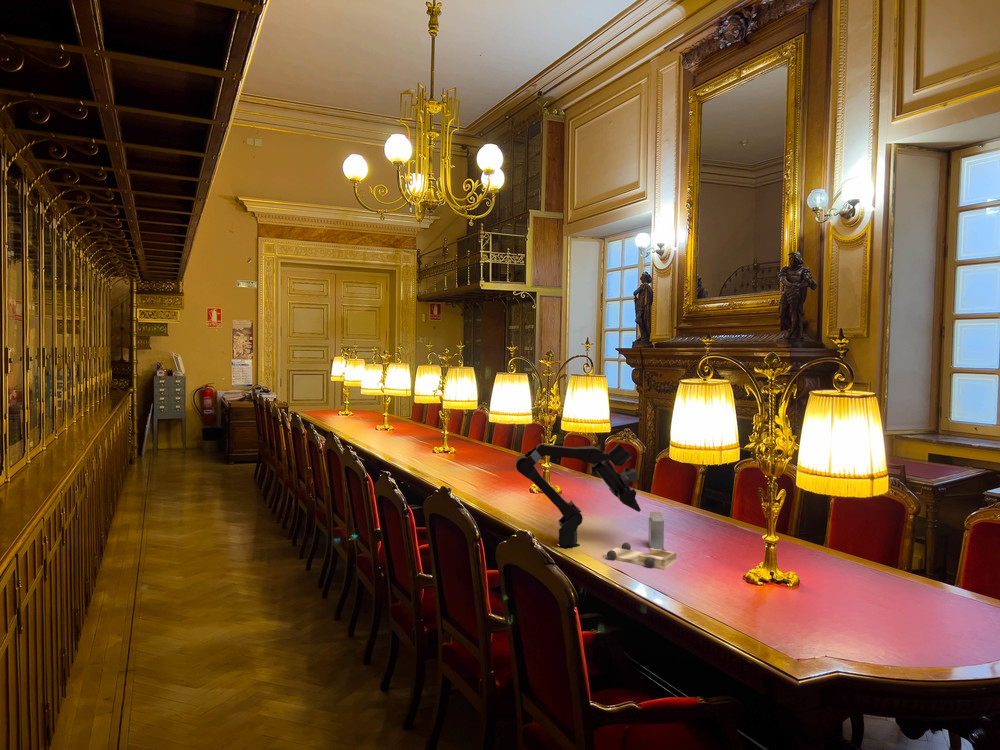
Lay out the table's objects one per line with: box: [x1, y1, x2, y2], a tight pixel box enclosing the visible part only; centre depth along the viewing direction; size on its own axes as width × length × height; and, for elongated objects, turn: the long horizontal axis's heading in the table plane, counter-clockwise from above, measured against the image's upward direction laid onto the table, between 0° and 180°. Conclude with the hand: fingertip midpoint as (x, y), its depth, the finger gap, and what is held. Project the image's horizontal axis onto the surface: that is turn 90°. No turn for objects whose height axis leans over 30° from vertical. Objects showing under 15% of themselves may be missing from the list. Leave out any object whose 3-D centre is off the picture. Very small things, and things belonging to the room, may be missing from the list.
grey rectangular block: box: [647, 511, 665, 550], centre depth 243 cm, size 4×5×12 cm
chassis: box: [602, 542, 677, 570], centre depth 229 cm, size 22×13×3 cm, turn 54°
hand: (636, 508), depth 246 cm, fingers open, 9 cm apart
